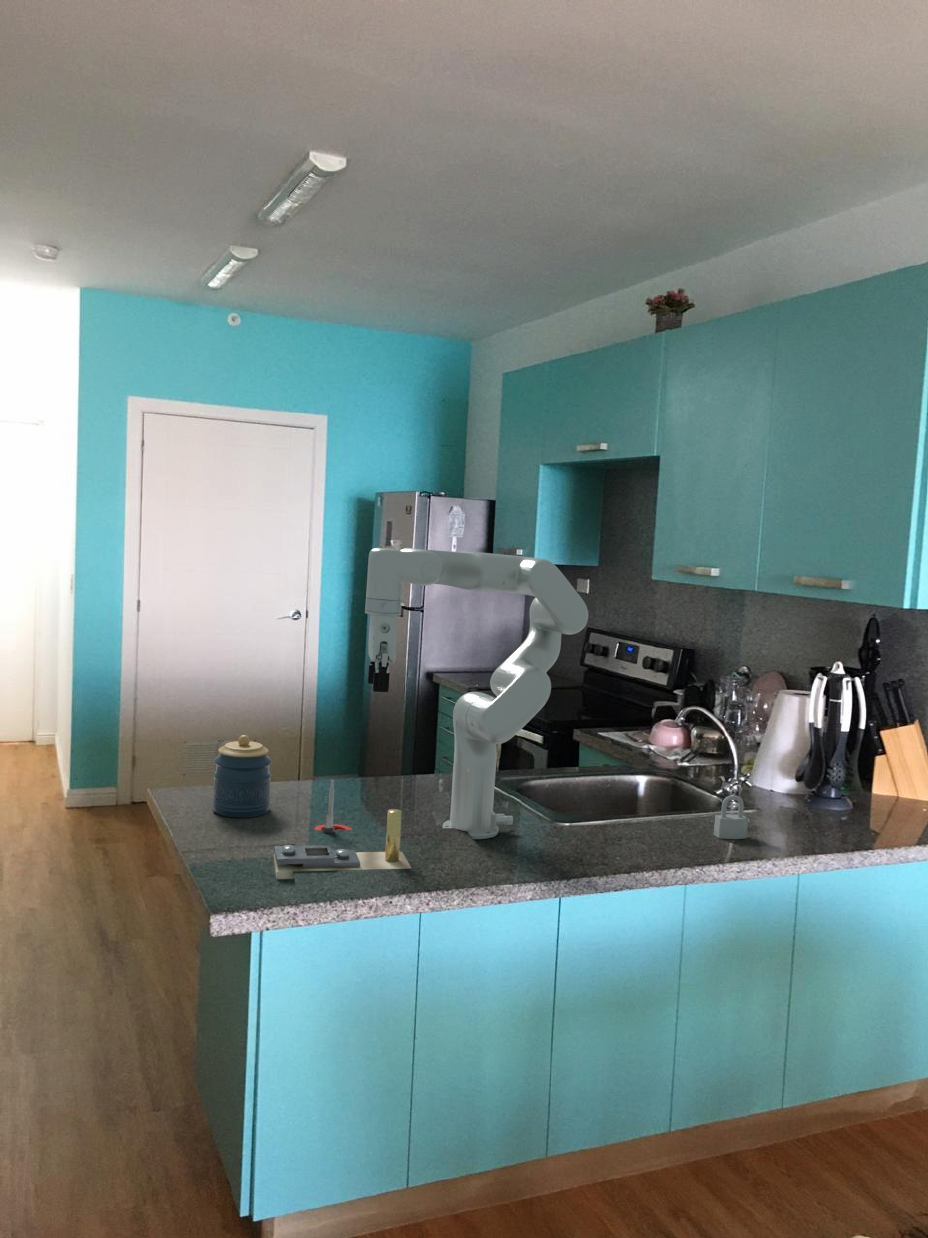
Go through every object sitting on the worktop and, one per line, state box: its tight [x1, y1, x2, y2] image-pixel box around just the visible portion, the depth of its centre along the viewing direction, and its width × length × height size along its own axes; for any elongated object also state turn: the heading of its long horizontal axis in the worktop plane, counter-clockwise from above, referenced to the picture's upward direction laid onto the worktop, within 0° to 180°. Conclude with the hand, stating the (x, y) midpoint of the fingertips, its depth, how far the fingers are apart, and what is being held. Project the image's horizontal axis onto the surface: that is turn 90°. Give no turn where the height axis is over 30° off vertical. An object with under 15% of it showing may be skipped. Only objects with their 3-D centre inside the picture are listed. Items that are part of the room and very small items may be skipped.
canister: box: [212, 734, 273, 818], centre depth 237 cm, size 13×13×18 cm
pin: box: [384, 808, 403, 862], centre depth 206 cm, size 3×3×10 cm
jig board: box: [272, 850, 412, 880], centre depth 204 cm, size 26×10×2 cm, turn 104°
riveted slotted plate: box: [273, 844, 360, 869], centre depth 203 cm, size 16×8×3 cm, turn 104°
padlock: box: [713, 794, 749, 840], centre depth 241 cm, size 7×4×10 cm, turn 102°
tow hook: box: [314, 779, 353, 834], centre depth 225 cm, size 8×13×9 cm
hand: (377, 687), depth 219 cm, fingers open, 9 cm apart
